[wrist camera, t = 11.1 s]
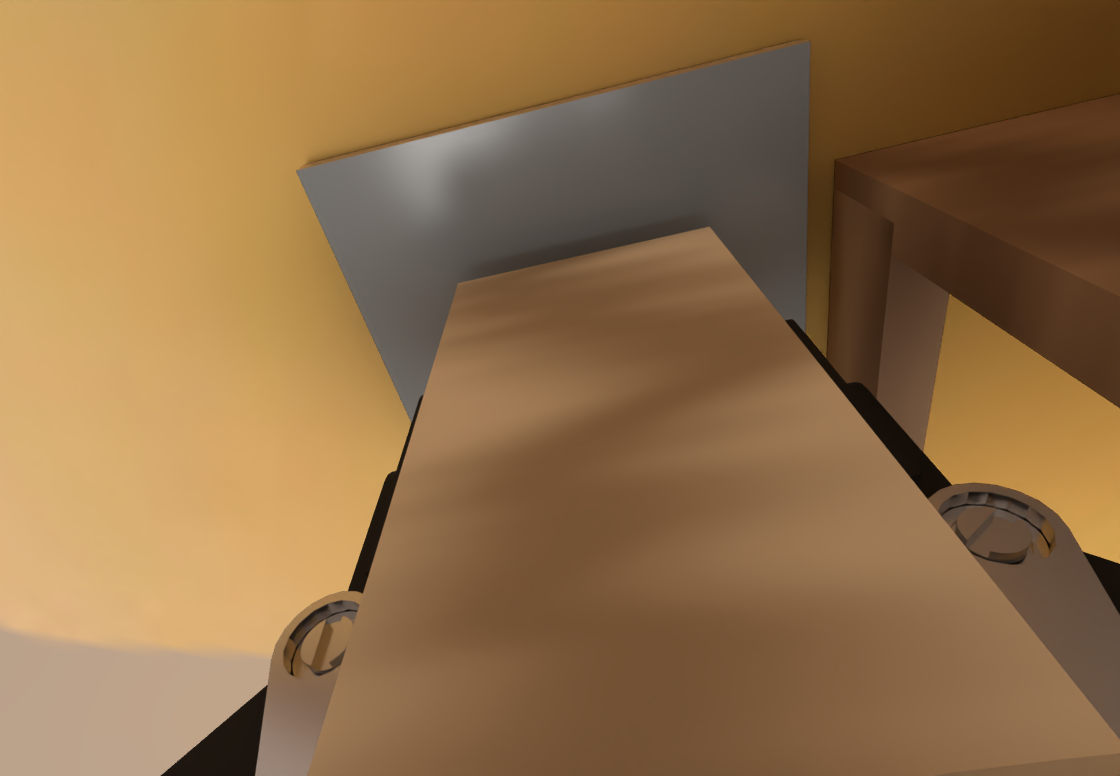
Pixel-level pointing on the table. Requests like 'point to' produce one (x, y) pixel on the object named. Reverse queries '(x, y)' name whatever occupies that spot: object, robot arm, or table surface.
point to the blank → (672, 558)
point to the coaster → (573, 193)
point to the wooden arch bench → (979, 251)
